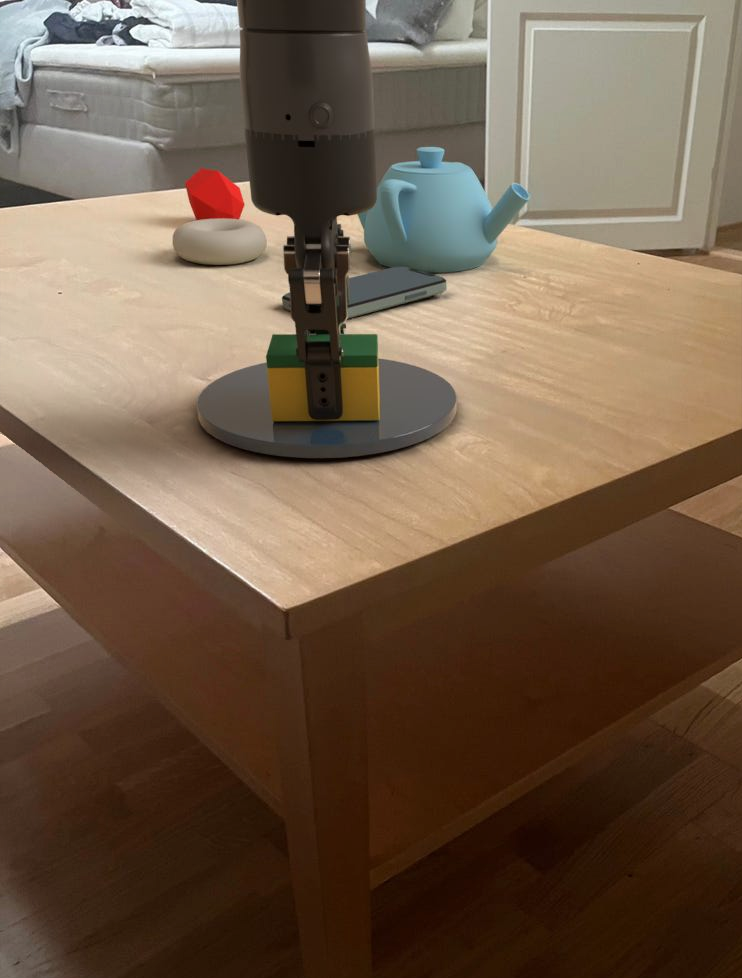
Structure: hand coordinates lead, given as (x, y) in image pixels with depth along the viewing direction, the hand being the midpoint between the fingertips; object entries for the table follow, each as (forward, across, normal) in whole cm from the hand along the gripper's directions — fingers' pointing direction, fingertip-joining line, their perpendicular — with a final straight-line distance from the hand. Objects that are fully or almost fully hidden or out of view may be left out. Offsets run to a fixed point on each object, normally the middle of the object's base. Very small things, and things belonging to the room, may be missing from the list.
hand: (327, 402), depth 67 cm
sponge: (+1, 0, 0) cm, 1 cm away
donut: (+2, -50, -14) cm, 52 cm away
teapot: (+2, -49, +9) cm, 50 cm away
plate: (+2, -3, 0) cm, 4 cm away
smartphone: (+2, -32, +2) cm, 32 cm away
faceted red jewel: (+2, -68, -17) cm, 70 cm away
